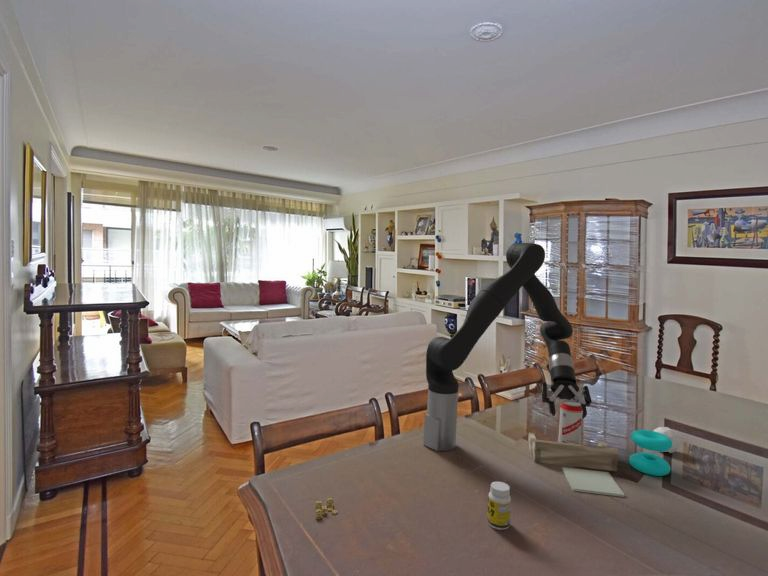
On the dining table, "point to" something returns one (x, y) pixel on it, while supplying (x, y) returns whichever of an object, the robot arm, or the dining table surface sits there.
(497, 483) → the supplement bottle
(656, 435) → the donuts
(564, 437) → the beer can
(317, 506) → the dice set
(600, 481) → the sage tile
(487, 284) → the robot arm
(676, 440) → the geometric ball
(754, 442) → the dining table surface
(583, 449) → the birch bay
